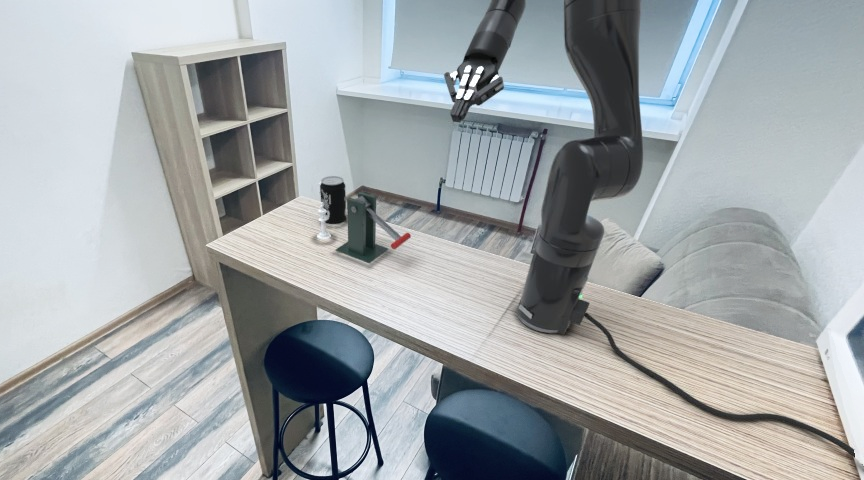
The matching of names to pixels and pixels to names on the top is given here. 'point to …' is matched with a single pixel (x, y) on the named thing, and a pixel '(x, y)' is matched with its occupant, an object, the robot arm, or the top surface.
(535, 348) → the top surface
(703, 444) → the top surface
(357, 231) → the bracket
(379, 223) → the lever
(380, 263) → the top surface
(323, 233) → the chess piece
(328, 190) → the beverage can
